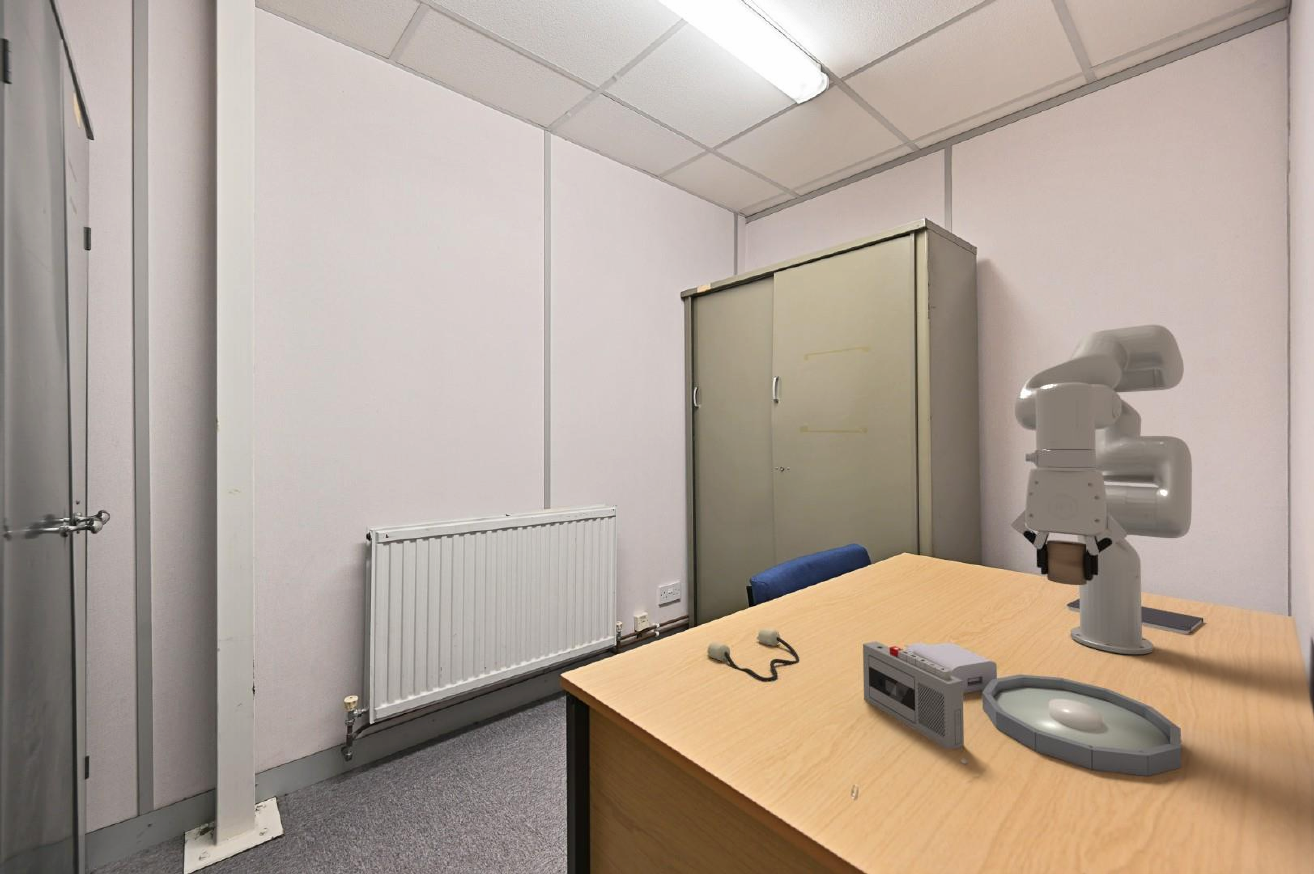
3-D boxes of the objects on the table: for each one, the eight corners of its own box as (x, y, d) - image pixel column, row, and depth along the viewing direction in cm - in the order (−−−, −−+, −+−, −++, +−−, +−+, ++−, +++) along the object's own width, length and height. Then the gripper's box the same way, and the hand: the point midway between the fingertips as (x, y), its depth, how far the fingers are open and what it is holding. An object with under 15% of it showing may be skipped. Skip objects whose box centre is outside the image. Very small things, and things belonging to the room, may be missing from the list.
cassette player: (863, 699, 87) (862, 637, 87) (876, 696, 88) (875, 635, 88) (949, 750, 72) (948, 676, 72) (963, 746, 73) (962, 673, 73)
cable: (824, 664, 101) (824, 646, 101) (761, 688, 92) (760, 668, 92) (765, 639, 114) (765, 623, 114) (704, 658, 105) (704, 640, 105)
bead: (1050, 575, 89) (1049, 538, 89) (1089, 580, 85) (1088, 542, 85) (1044, 580, 85) (1044, 542, 85) (1084, 586, 82) (1084, 546, 82)
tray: (1003, 678, 93) (1003, 663, 93) (1180, 723, 78) (1180, 706, 78) (968, 729, 77) (967, 711, 77) (1181, 798, 62) (1181, 776, 62)
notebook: (1203, 625, 118) (1085, 601, 136) (1203, 617, 118) (1085, 595, 136) (1187, 637, 111) (1065, 611, 129) (1187, 630, 111) (1065, 604, 129)
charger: (929, 654, 104) (997, 688, 90) (889, 660, 102) (952, 696, 87) (929, 629, 104) (996, 660, 90) (888, 635, 102) (951, 667, 87)
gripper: (997, 460, 89) (998, 571, 88) (1135, 462, 77) (1137, 590, 76) (1008, 459, 94) (1009, 563, 94) (1138, 461, 82) (1140, 581, 82)
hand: (1066, 574), depth 85 cm, fingers closed on bead, 4 cm apart
